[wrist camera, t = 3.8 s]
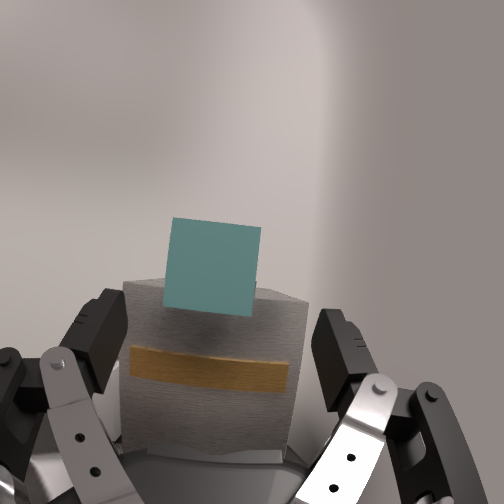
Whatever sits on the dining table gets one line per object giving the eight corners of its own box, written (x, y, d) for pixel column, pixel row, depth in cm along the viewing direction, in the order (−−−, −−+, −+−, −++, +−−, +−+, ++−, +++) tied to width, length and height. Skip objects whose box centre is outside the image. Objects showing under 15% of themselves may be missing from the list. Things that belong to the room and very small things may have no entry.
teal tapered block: (251, 316, 11) (261, 227, 12) (162, 306, 11) (173, 217, 11) (232, 286, 38) (235, 259, 39) (205, 283, 38) (208, 256, 38)
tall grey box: (259, 559, 19) (315, 249, 22) (138, 547, 18) (128, 228, 21) (246, 472, 39) (272, 260, 42) (162, 464, 38) (173, 249, 41)
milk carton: (97, 417, 48) (95, 333, 49) (128, 426, 48) (127, 340, 49) (82, 431, 41) (76, 339, 42) (115, 442, 41) (111, 349, 42)
